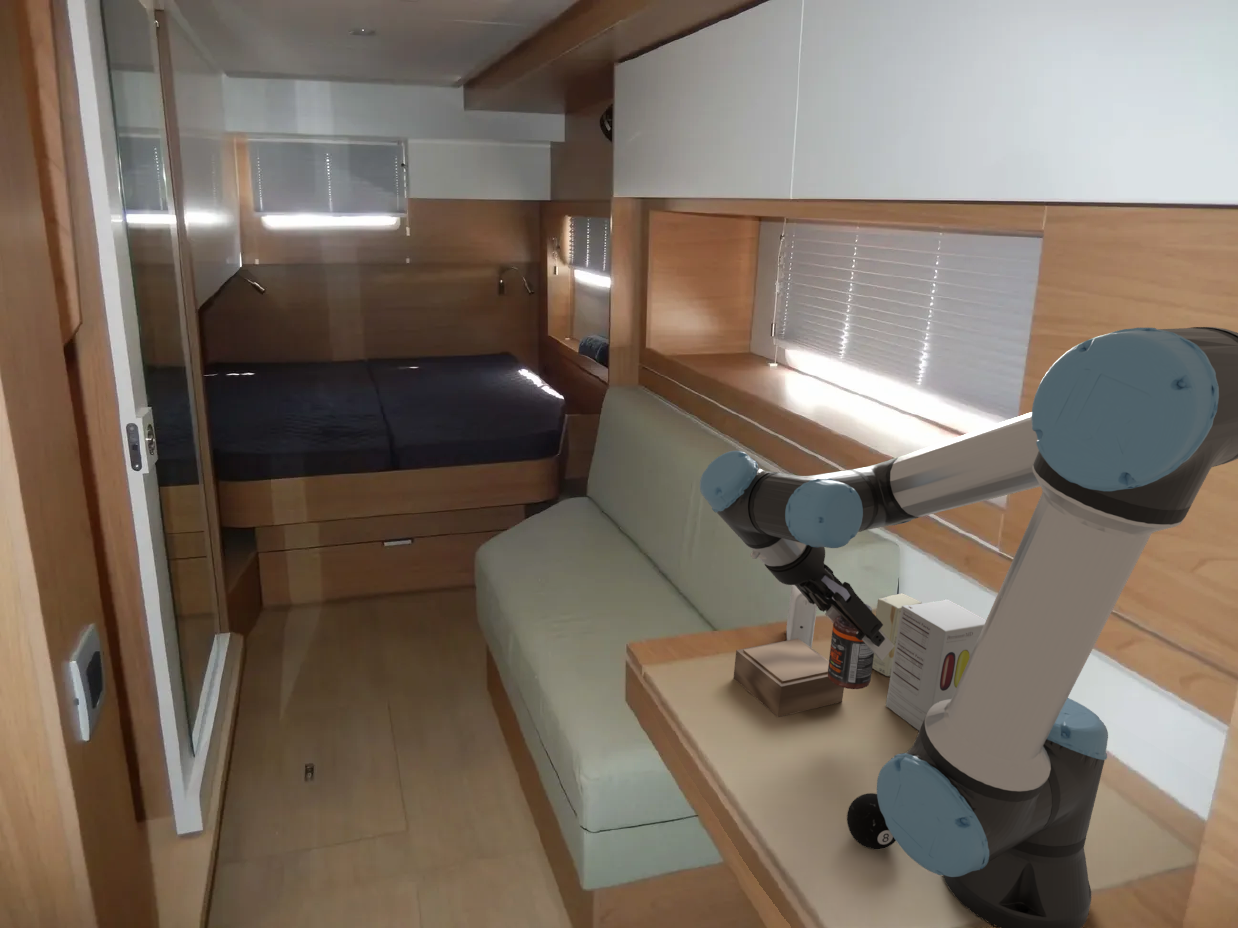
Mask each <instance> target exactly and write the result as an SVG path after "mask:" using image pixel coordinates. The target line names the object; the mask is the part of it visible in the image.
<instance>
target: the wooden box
mask: <svg viewBox="0 0 1238 928" xmlns="http://www.w3.org/2000/svg"><path fill="white" fill-rule="evenodd" d="M828 665H829V658H828V659H827V658H826V657H825V656H824V655H822V654H820V653H819V652H817V651H816V650H815V649H814V648H811V647H809V646H808V645H806V644H805V643H804V642H802V641H801V640H799V639H793V640H787V639H786V640H783V641H778V642H771V643H768V644H766V643H765V644H762V645H755V646H752V647H745V648H739V649H736V651H735V661H734V668H733V670H734V671H733V679H734V680H735V682H736V683H738V684H739V685H741V686H742V687H743V688H744V689H745V690H746V691H747V692H749V694H751V695H752V696H753V697H754V698H755V699H756V700H757V701H759V702H760V703H761V704H762V705H764V707H766V709H768V710H769V711H770V712H772V713H773V714H774V715H775V716H776V717H783V716H788V715H791V714H796V713H800V712H805V711H810V710H813V709H817V708H822V707H826V706H831V705H834V703H835V704H839V703H838V702H840V703H842V702H843V699H844V698H843V696H844V691H845V688H843V687H840V686H838V685H836V684H834V683H833V682H831V681H830V679H829V678H828ZM830 704H831V705H830Z"/></svg>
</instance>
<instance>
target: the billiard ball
mask: <svg viewBox="0 0 1238 928" xmlns="http://www.w3.org/2000/svg"><path fill="white" fill-rule="evenodd" d="M846 824H847V827H848V830H849V833H850V835H851V836H852V838H853V839H854V840H855V841H856V842H857V843H858V844H859V845H861V846H862V847H865V848H867V849H869V850H870V849H871V850H875V851H877V850H879V851H880V850H885V849H886V848H888V847H890V846H892V845H893V844H895V842H896V840H895V839H894V837H893V836H892V834H891V832H890V831H889V829H888V827H887V825H886V821H885V818H884V816H883V814H882V813H881V811H880V807H879V803H878V798H877V793H873V792H871V793H870V792H868V793H864V794H861V795H859V796H857V797H856V798H854V800H852V802H851V803H850V805H849V807H848V809H847V813H846Z"/></svg>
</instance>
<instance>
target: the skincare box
mask: <svg viewBox="0 0 1238 928" xmlns="http://www.w3.org/2000/svg"><path fill="white" fill-rule="evenodd" d="M921 603H923V602H922V601H920V600H918V599H916V598H914V597H912V596H909V595H908V594H905V593H902V592H901V593H897V594H893V595H892V594H891V595H888V596H885V597H880V598H878V599H877V604H876V611H875V616H876V617H877V618H878V619H879V621H881V622H882V624H883V626H882V627H881V628H880V629H881V631H882V632H883V633H884V634H885V635H886V637H887V638H888V639H889V640H890V641H891V642H892V644H893V645H894V647H893V648H892V650H891V651H890V652H889V653H888V654H887V656H886V657H885V658H884V659H883V661H882V660H880V659H878V657H877V656H876V655H875V654H874V658H873V665H872V670H874V671H876V672H878V673H880V674H882V675H884V676H886V677H890V676H891V670H892V664H893V657H894V651H895V645H896V638H897V632H898V626H899V620H900V613H901V607H902V606H904V605H914V604H921Z"/></svg>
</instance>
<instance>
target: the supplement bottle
mask: <svg viewBox="0 0 1238 928" xmlns="http://www.w3.org/2000/svg"><path fill="white" fill-rule="evenodd" d="M864 604H865V605H866V606H867V607H868V608H869V609H870V610H871V612H872V613H873V609H872V607H871V606H870V605H869V604H867V603H864ZM856 632H857V630H856V629H855V628H854V627H853V626H852V625H851V624H850V623H849V622H848V621H847V620H846V619H845V618H844V617H843V616H842V615H840V616H838V617H837V618H836V619H835V620H834V623H832V631H831V638H830V639H831V641H830V650H829V658H828V660H829V665H828V678H829V679H830V681H831V682H833V683H834V684H836V685H838V686H840V687H843V688H844V689H849V690H860V689H864V688H866V687H868V686H869V685H870V684H871V680H872V679H871V678H872V672H873V668H872V665H873V658H874V653H873V652H872V651H871V649H870V648H869V647H868V646H867V645H866V644H865V643H864V641H863V640H861V641H860V640H859V639H857V638H856V637H855V636H856V635H857V634H856Z"/></svg>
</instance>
